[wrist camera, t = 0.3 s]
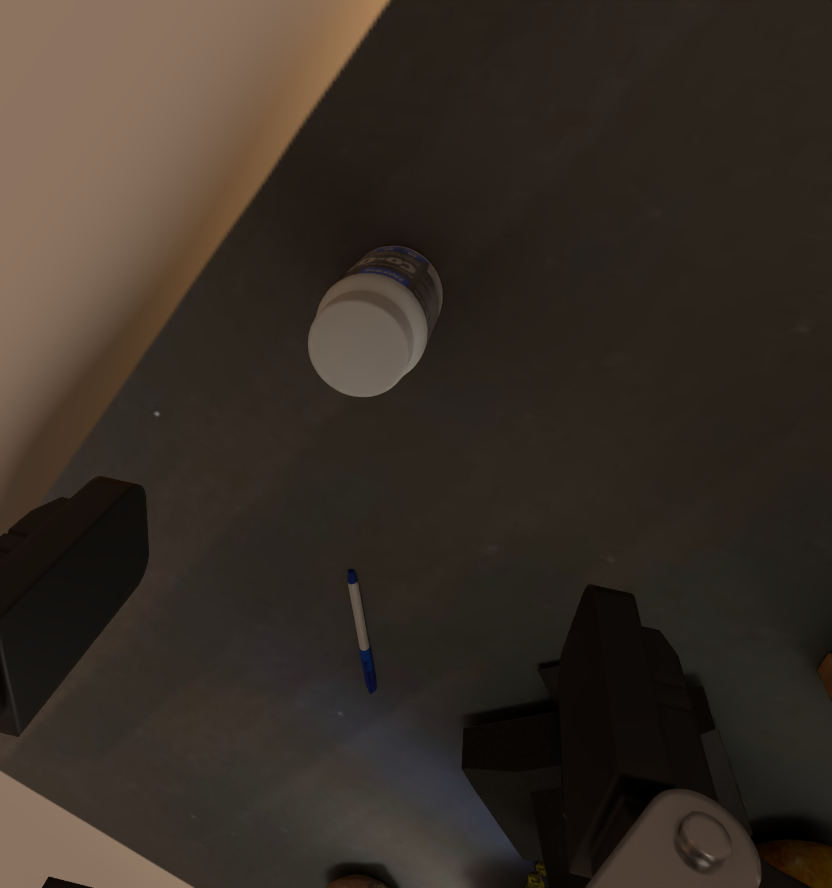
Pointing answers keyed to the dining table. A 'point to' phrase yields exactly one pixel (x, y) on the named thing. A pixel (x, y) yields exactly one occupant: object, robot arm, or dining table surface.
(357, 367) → the pill bottle
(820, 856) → the fruit
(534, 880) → the decorative flower
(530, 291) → the dining table surface
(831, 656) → the shelf
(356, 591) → the ballpoint pen
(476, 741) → the camera
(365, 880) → the oil lamp
